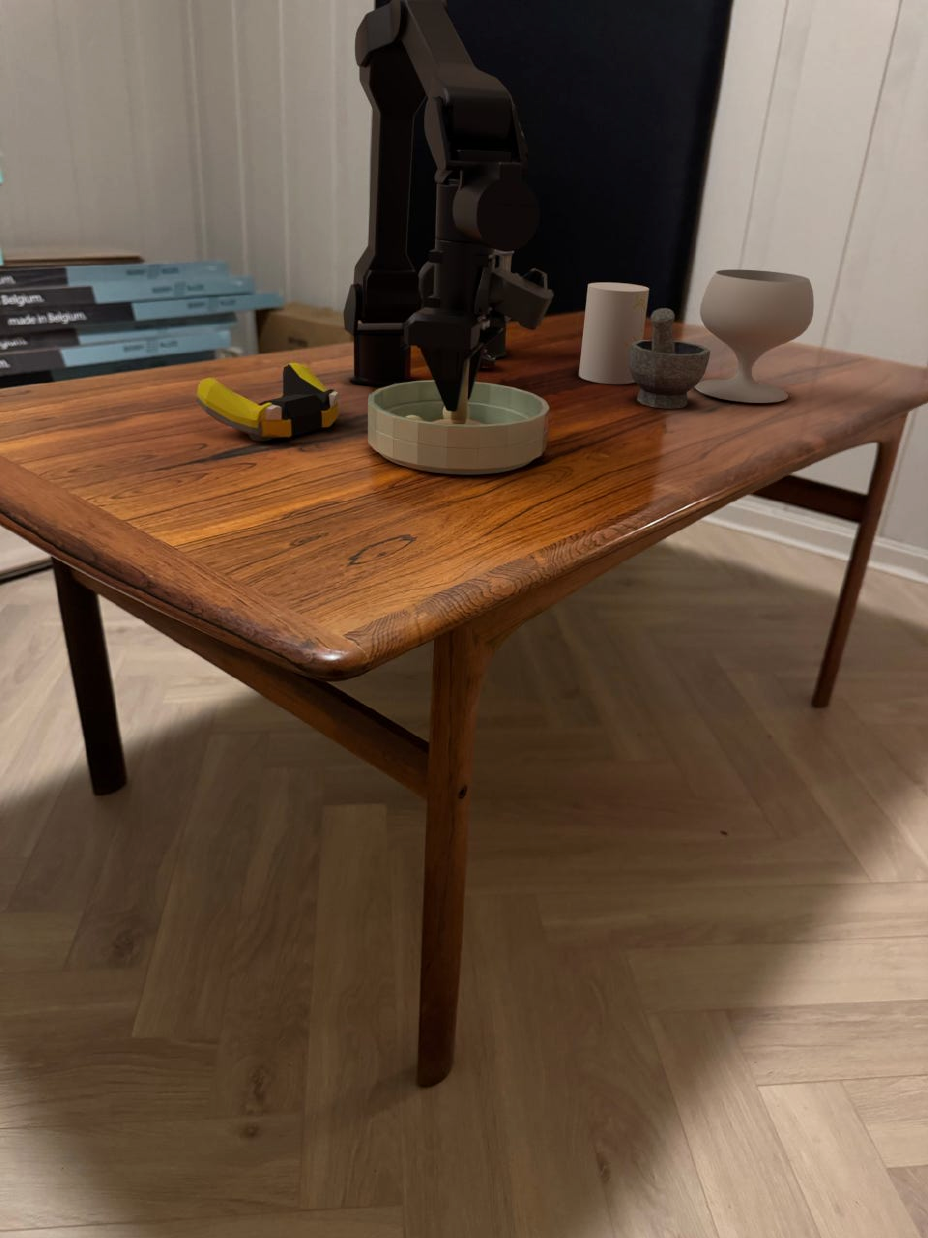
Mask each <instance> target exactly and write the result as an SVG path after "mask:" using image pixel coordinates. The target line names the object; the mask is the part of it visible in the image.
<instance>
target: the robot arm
mask: <svg viewBox="0 0 928 1238" xmlns="http://www.w3.org/2000/svg"><path fill="white" fill-rule="evenodd" d="M359 23H360V24H359V25H358V27H357V29H356V31H355V39H354V58H355V63H356V66H357V67H358V77H359V78H358V79H359V80H358V81H359V83H360V85H361V87H362V89H363V92H364V94H365V96H366V98H367V100H368V102H369V104H370V106H371V109H372V127H371V128H372V129H371V130H372V131H371V132H372V133H371V159H370V185H369V186H370V187H369V212H368V213H369V214H368V215H369V217H368V243H367V246H366V248H365V249H364V251H363V253H362V254H361V256H359V259H358V260H357V262H356V263H355V265H354V267H353V282H352V283H351V284H350V286H349V289H348V293H347V297H346V300H345V304H344V308H343V326H344V330H345V331H346V332H347V333H349V334H350V335H351V336H352V337H353V376H350V377H348V381H349V383H353V384H361V385H370V386H379V387H386V386H390V385H393V384H398V383H406V381H408V380H409V379H411V378H412V376H411V375H412V374H411V371H412V369H411V367H412V366H411V365H412V346H415V347H416V348H417V349H419V350H420V352H421V355H422V357H423V359H424V361H425V364H426V365H427V368H428V370H429V372H430V374H431V377H432V380H434V381H435V384H436V386H437V389H438V391H439V394H440V396H441V399H442V401H443V404H444V406H445V408H446V410H447V411H452V412H456V411H457V410H458V406H459V402H460V398H461V393H462V388H463V383H464V378H465V373H466V368H467V363H468V359H469V378H468V399H467V400H469V399H470V397H471V394H472V390H473V387H474V384H475V382H476V379H477V376H478V373H479V369H480V368H479V366H480V363H481V359H482V356H483V353H484V350H485V347H486V345H487V344H488V343H489V342H490V341H491V340H492V339H493V338H494V337H496V336H497V335H498V334H499V333H500V332H501V331H502V330H503V328H502V327H494V326H490V319H486V317H487V318H500V323H506V324H508V322H509V321H511V320H513V321H515V322H517V323H518V325H519V326H520V327H523V328H525V329H527V330H530V331H535V330H537V328H538V327H539V326H540V327H541V325H542V322H543V320H544V318H545V315H546V313H547V311H548V309H549V306H550V305H552V301H553V298H554V295H555V293H554V292H553V290H552V289H550V288H548V274H547V273H546V272H544V271H542V270H540V269H537V268H536V267H534V268H531V269H530V270H529V271H528V272H526V273H525V274H524V275H523V276H521V275H520V274H519V273H517V272H515V273H513V272H511V271H510V272H509V271H507V270H505V269H502V263H503V255H500V251H503V252H510V251H514V252H515V251H517V250H520V249H521V248H524V247H525V246H526V245H527V244H528V243H529V242H530V241H531V240H532V238H533V237H534V235H535V234H536V232H537V229H538V227H539V223H540V219H541V208H540V206H539V202H538V199H537V196H536V193H535V192H534V189H532V188H531V186H530V185H529V184H528V183H527V182H525V181H524V180H523V179H521V177H522V176H521V175H523V174H525V175H526V174H527V172H528V163H527V162H528V161H527V160H528V157H529V155H530V153H529V149H528V145H527V143H526V140H525V137H524V132H523V130H522V126H521V123H520V120H519V116H518V115H519V114H518V110H517V107H516V105H515V103H514V102H513V97H512V94H511V93H510V92H509V90H508V89H507V87H505V86H504V84H503V83H502V82H501V81H500V80H499V79H498V78H497V77H495V76H493V75H490V74H489V73H486V72H485V71H482V70H480V69H478V68H477V67H476V66H475V65H474V63H473V61H472V59H471V57H470V55H469V54H468V52H467V50H466V48H465V45H464V44H463V41H462V40H461V38H460V36H459V34H458V32H457V30H456V28H455V27H454V25H453V23H452V21H451V19H450V17H449V5H448V3H447V0H390V2H389V3H387V4H384V5H382V6H380V7H378V8H376V9H374V10H370V11H369V12H367V13H365V15H364V16H363V18H362V20H361V22H359ZM426 99H427V101H426V104H425V109H424V121H423V123H424V124H423V125H424V134H425V139H426V141H427V144H428V146H429V150H430V151H431V154H432V155H431V156H432V158H433V160H434V162H435V165H436V168H437V169H436V172H435V174H434V181H435V183H436V201H435V202H436V203H435V204H436V205H435V233H434V234H435V237H434V249H431V250H428V261H429V263H435V264H434V282H433V295H432V296H430V297H428V304H427V307H425V308H423V309H421V305H422V302H423V297H422V295H421V292H420V288H419V276H418V275H419V273H418V272H417V271H416V270H415V268H414V265H413V264H412V261H411V260H410V257H409V256H408V254H407V250H408V249H407V248H408V229H409V214H410V212H409V211H410V194H411V193H410V192H411V180H412V179H411V177H412V176H411V175H412V159H413V143H414V125H415V116H416V114H417V113H418V111H419V109H420V108H421V106H422V105H423V104H424V102H425V100H426ZM496 250H499V251H496ZM359 322H360V323H359Z"/></svg>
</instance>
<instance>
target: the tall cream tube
mask: <svg viewBox="0 0 928 1238" xmlns="http://www.w3.org/2000/svg"><path fill="white" fill-rule="evenodd" d="M649 294H650V288H649V287H647V286H644V285H640V284H639V285H638V284H634V283H623V282H591V283H588V284H587V291H586V302H585V311H584V320H583V330H582V340H581V350H580V360H579V369H578V377H579V378H581V379H583V380H585V381H589V382H592V383H598V384H604V385H605V384H606V385H607V384H608V385H628V384H633V383H636V382H635V381H634V379H633V377H632V375H631V372H630V369H629V356H628V354H629V347H630V344H631V343H633V342H635V341H637V340H644V331H645V326H646V325H645V324H646V317H647V309H648V301H649Z"/></svg>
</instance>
